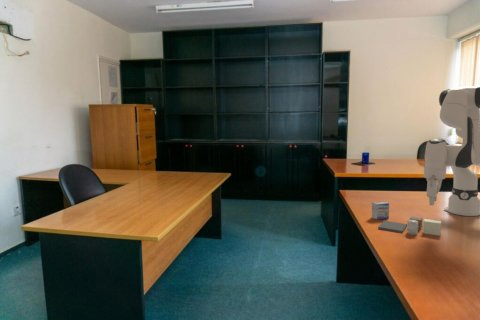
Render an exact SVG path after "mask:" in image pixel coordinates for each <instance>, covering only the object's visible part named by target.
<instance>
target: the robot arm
mask: <svg viewBox="0 0 480 320" xmlns="http://www.w3.org/2000/svg"><path fill="white" fill-rule="evenodd" d="M438 102H439V105H440V107H441V108H440V111H439V119H440V121H441V122H442V123H443V124H445V125H446V126H448V127H449V128H452V129H455V134H456V136H457V137H458V138H460V139H462V144H461V143H452V144H447V140H446V139H443V138H431V139H429V140H428V141H426V145H425V152H424V161H425V164H424V167H423V178H425V180H426V181H427V184H426V186H427V187H426V197H428V200H429V202H428V203H429V206H431V207H434V205H435V202H436V201H437V200H438V199H437V198H438V194H439V192H440V190H441V187H442V182H443V180H445V179H446V178H447V167H450V168H451V170H452V173H453V175H452V176H453V187H452V190H451V191H452V192H451V195H450V196H449V197H448V204H447V206H446V207H445V208H444V210H443V211H445V212H449V213H450V214H454V215H459V216H464V217H465V216H466V217H476V216H480V198H479V197H478V195H479V190H478V184H479V183H478V182H479V181H478V180H479V176H478V175H477V173H476V172H474V171H472V169H471V168H470V167H471V166H472V165H473V166H480V85H477V86H475V85H474V86H473V85H472V86H470V85H469V86H463V87H456V88H447V89H444V90H443V91H441V92H440V94H439V96H438Z"/></svg>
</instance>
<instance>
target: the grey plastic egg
mask: <svg viewBox="0 0 480 320" xmlns="http://www.w3.org/2000/svg"><path fill="white" fill-rule="evenodd" d="M406 229H407V231H406V232H407V235H411V236H417V235H418V234H419V233H418V232H419V229H418V221H416V220H410V219H408V220H407V227H406Z"/></svg>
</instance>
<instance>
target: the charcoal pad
mask: <svg viewBox="0 0 480 320" xmlns="http://www.w3.org/2000/svg"><path fill="white" fill-rule="evenodd" d="M407 228H408V223H402V222H396V221H388V220H383V221H382V222H381V223H380V225H378V230H383V231H387V232H388V231H389V232H395V233H400V234H402V233H404V231H405V229H407Z"/></svg>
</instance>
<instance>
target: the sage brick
mask: <svg viewBox="0 0 480 320" xmlns="http://www.w3.org/2000/svg"><path fill="white" fill-rule="evenodd" d="M422 234H425V235H431V236H432V235H433V236H438V237H440V236H441V234H442V220H435V219H428V218H423V220H422Z"/></svg>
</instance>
